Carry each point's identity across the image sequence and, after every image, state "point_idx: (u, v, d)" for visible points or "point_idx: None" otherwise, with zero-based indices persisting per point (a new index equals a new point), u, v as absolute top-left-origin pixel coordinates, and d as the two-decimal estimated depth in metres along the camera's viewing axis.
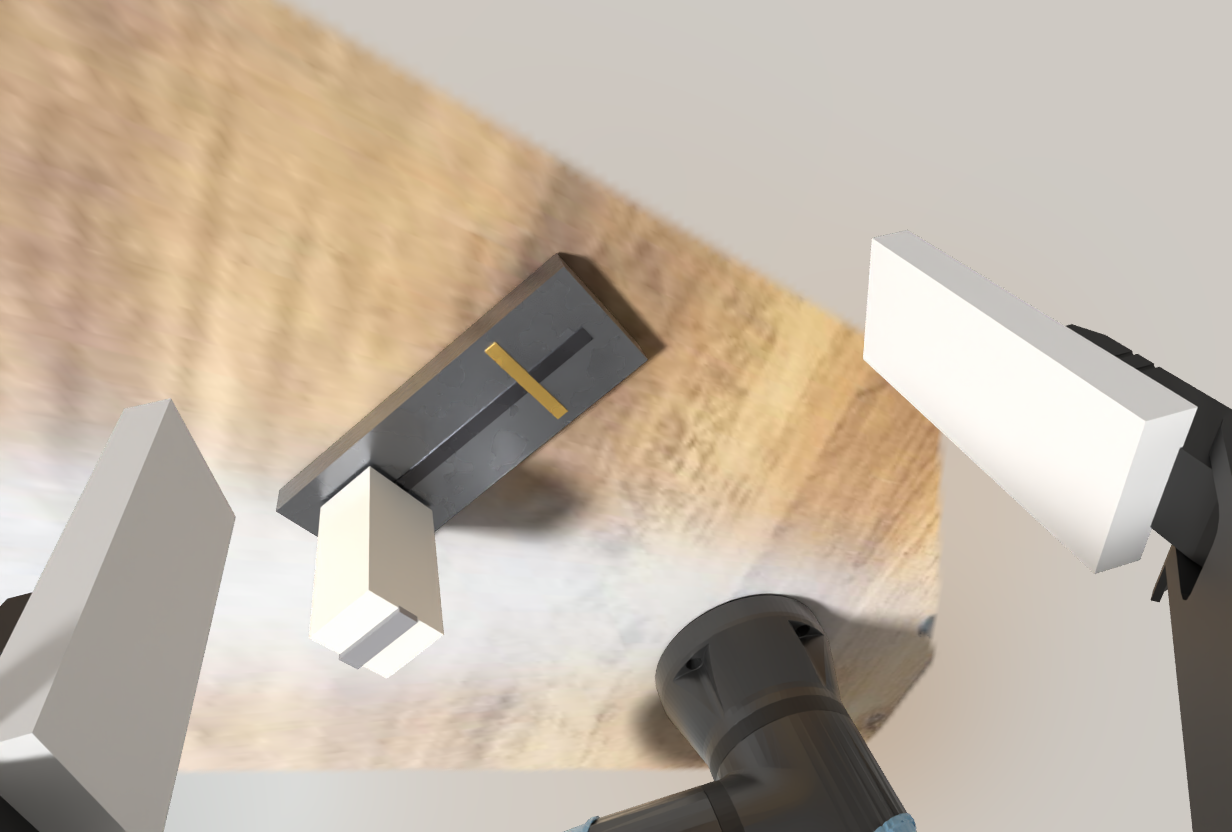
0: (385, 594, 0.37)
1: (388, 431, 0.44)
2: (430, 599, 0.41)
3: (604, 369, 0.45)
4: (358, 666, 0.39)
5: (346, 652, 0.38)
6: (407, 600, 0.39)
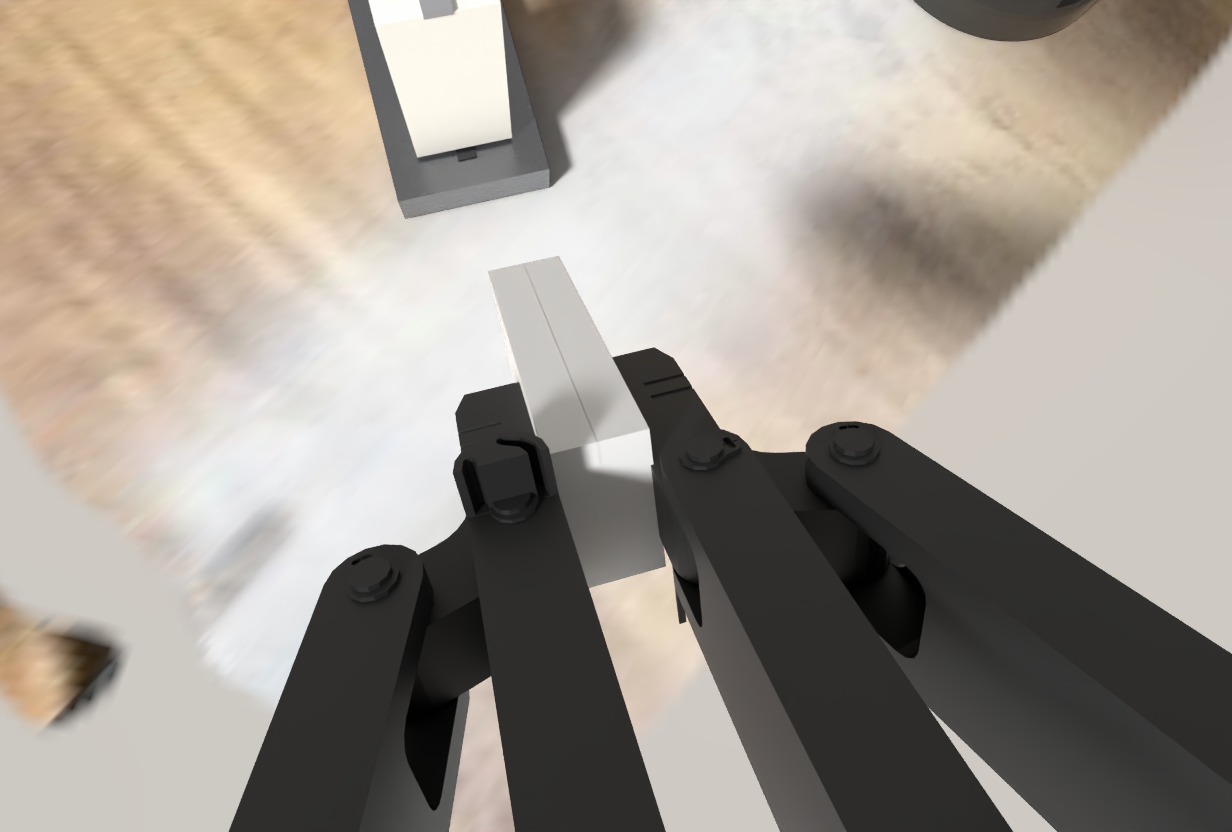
0: None
1: (377, 57, 0.41)
2: None
3: None
4: (448, 3, 0.30)
5: (420, 4, 0.30)
6: None
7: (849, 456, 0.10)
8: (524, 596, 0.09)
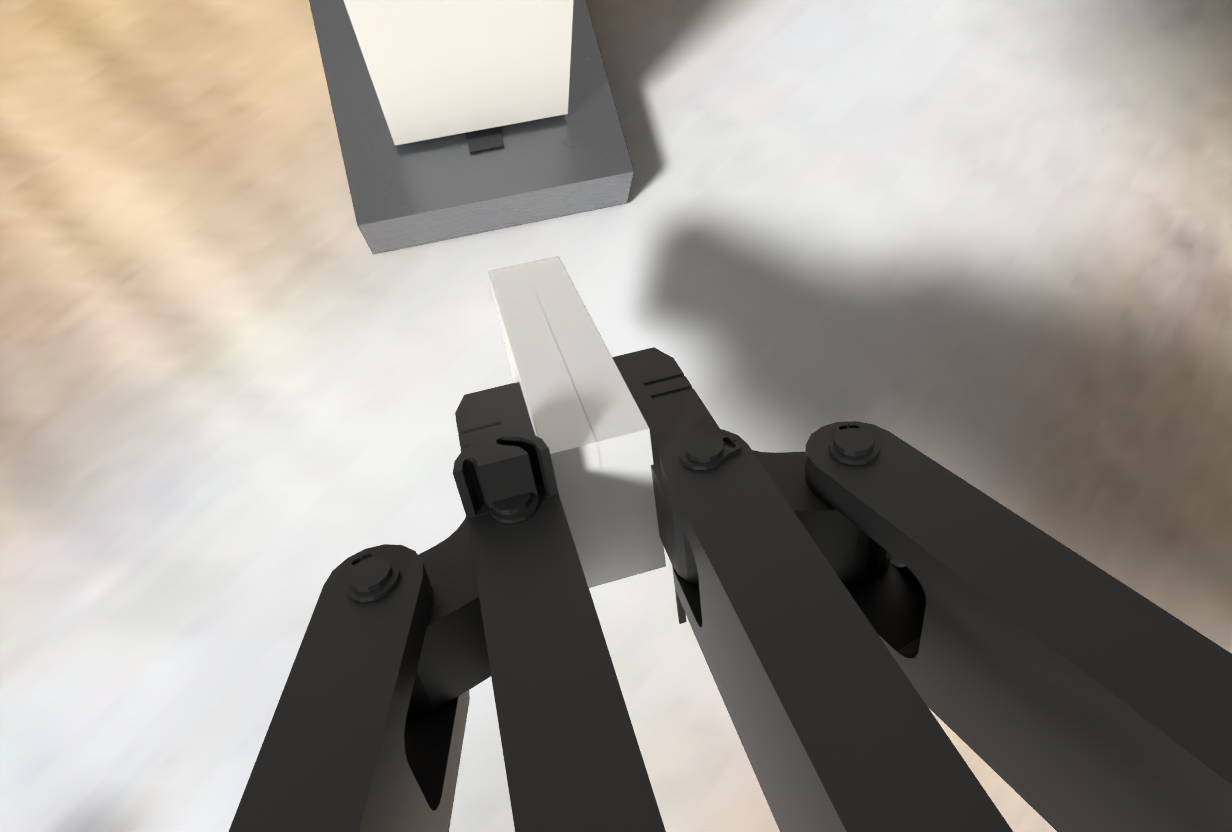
0: None
1: None
2: None
3: None
4: None
5: None
6: None
7: (849, 456, 0.10)
8: (524, 596, 0.09)
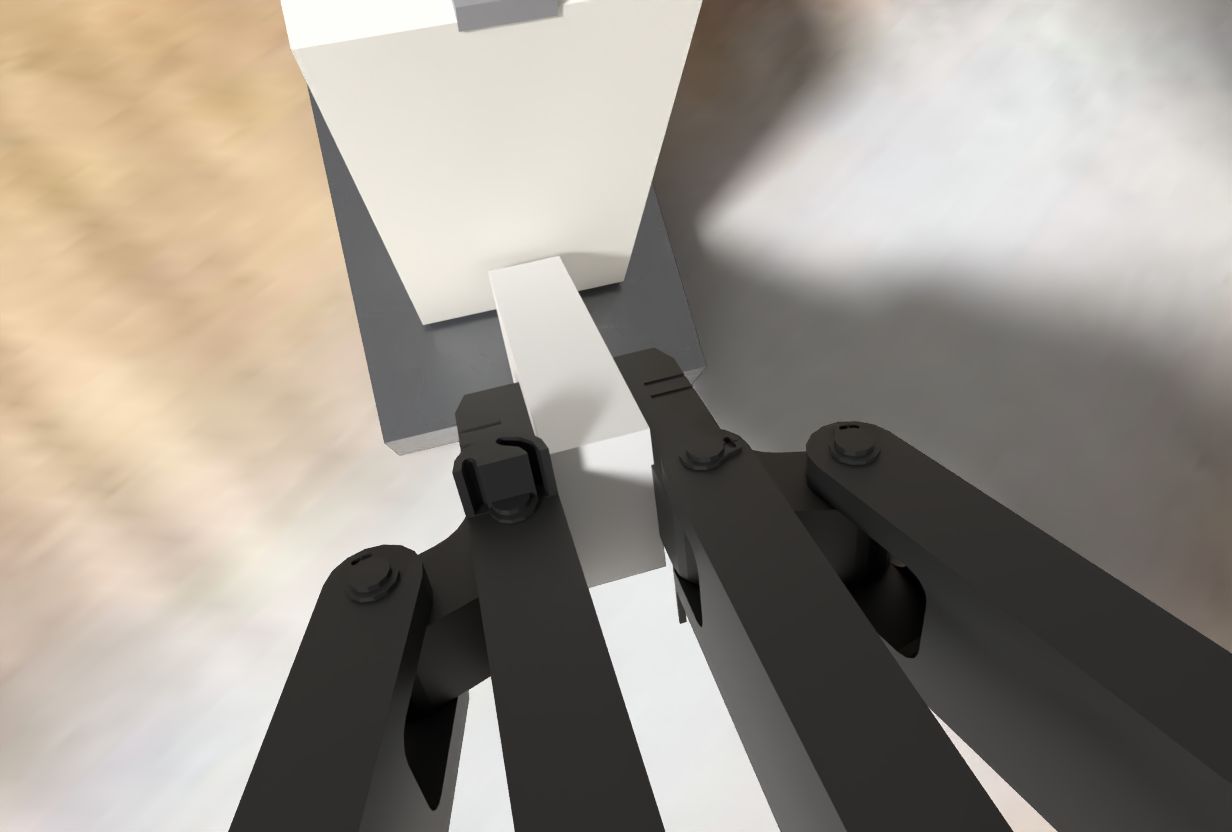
0: None
1: None
2: None
3: None
4: None
5: None
6: None
7: (849, 456, 0.10)
8: (523, 596, 0.09)
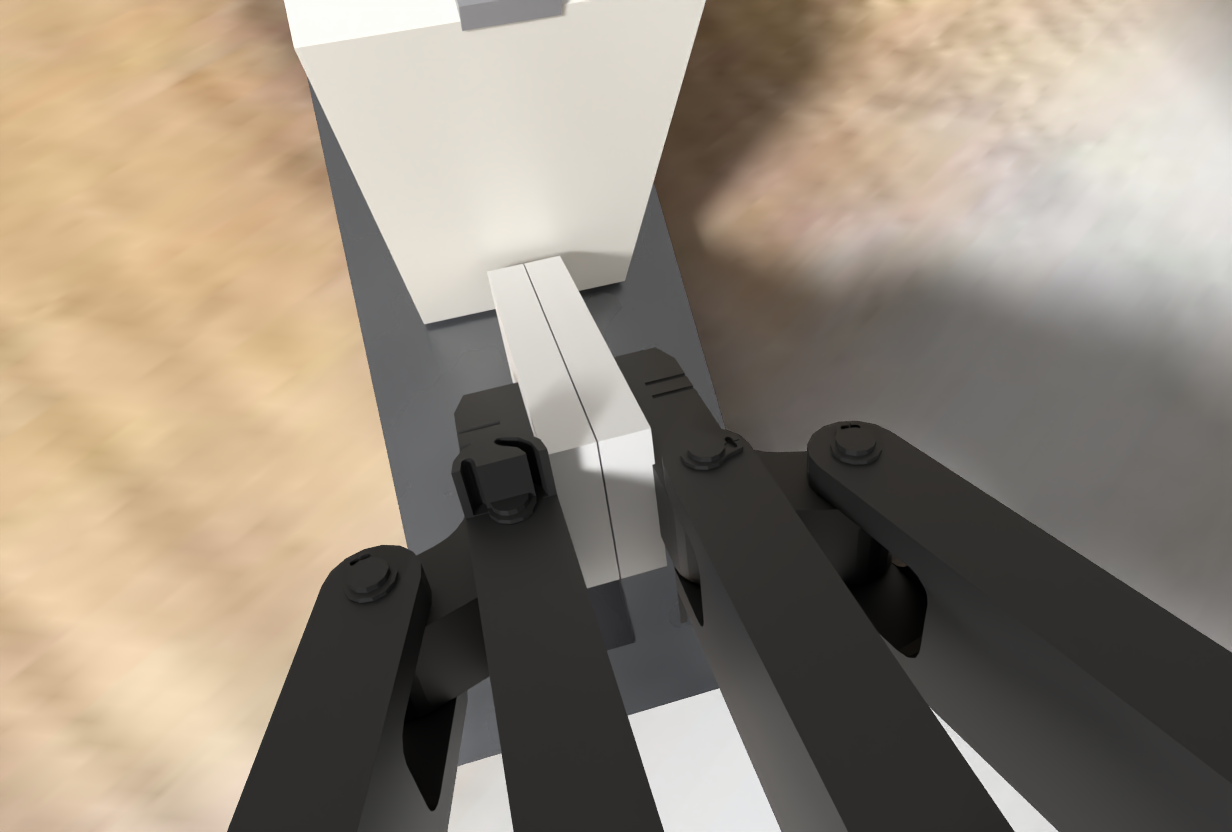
0: None
1: (409, 400, 0.18)
2: None
3: None
4: None
5: None
6: None
7: (850, 455, 0.10)
8: (521, 597, 0.09)
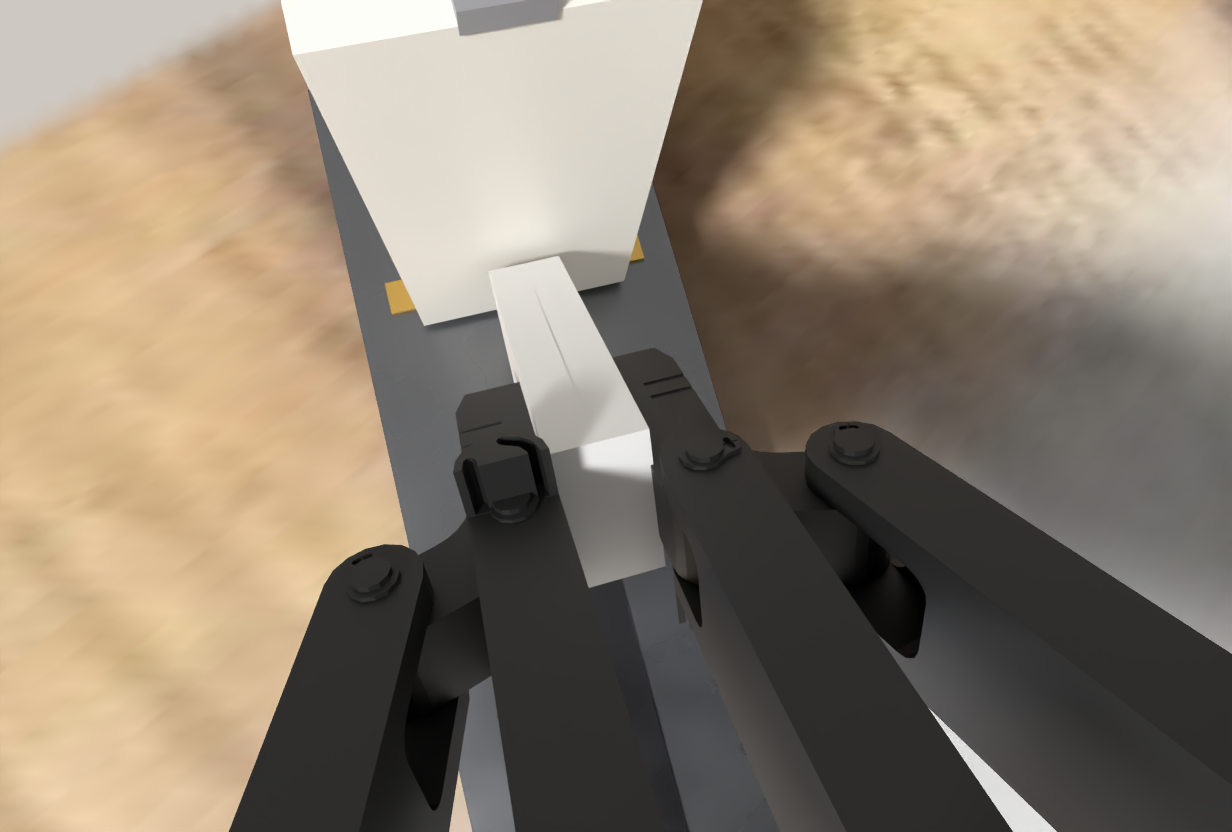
0: None
1: None
2: None
3: None
4: None
5: None
6: None
7: (849, 456, 0.10)
8: (524, 596, 0.09)
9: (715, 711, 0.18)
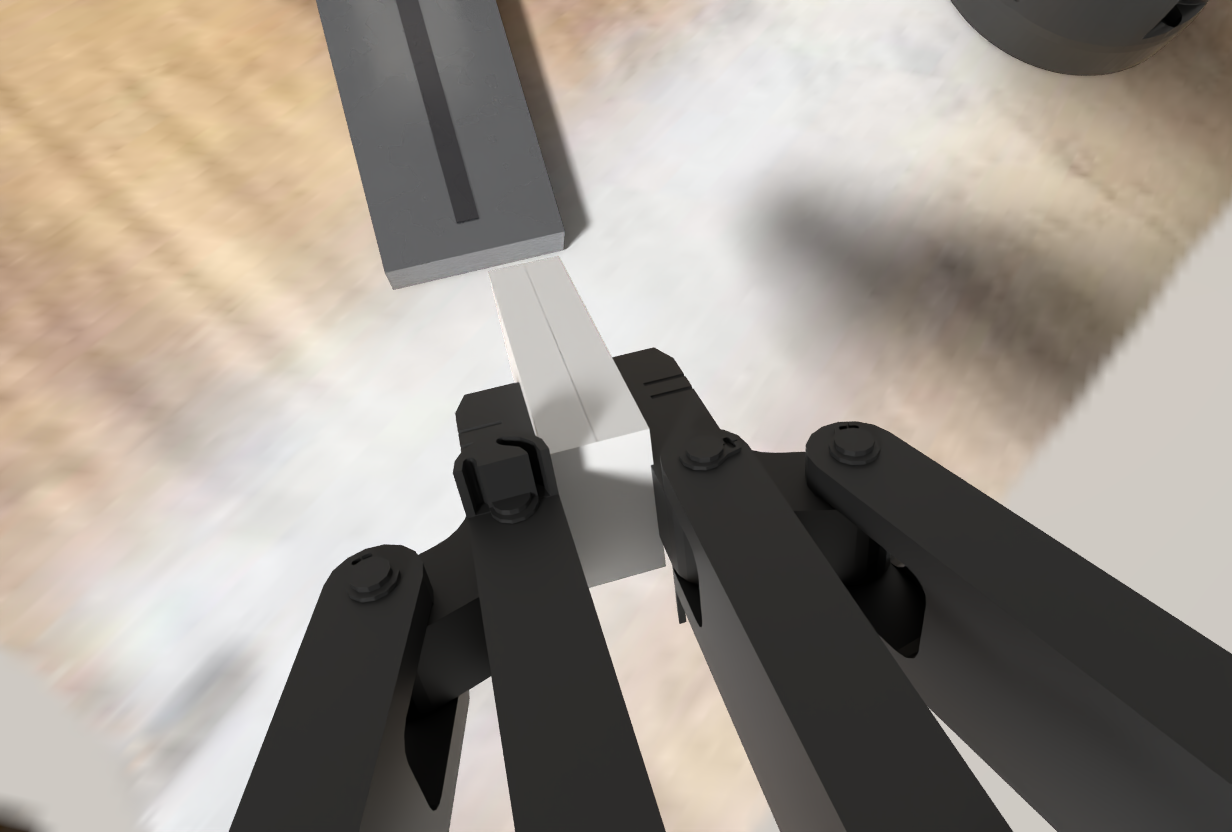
0: None
1: (359, 100, 0.35)
2: None
3: None
4: None
5: None
6: None
7: (849, 456, 0.10)
8: (524, 596, 0.09)
9: (491, 149, 0.35)
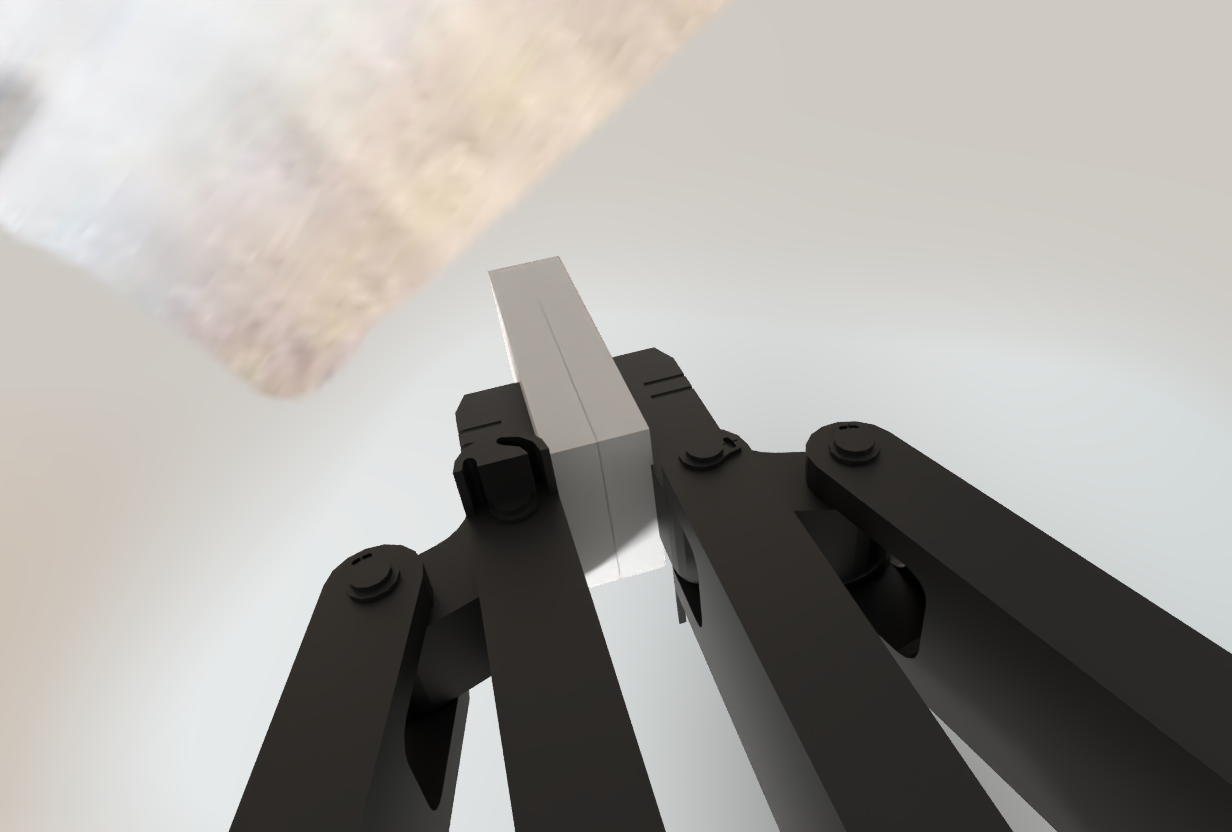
0: None
1: None
2: None
3: None
4: None
5: None
6: None
7: (849, 456, 0.10)
8: (524, 597, 0.09)
9: None
